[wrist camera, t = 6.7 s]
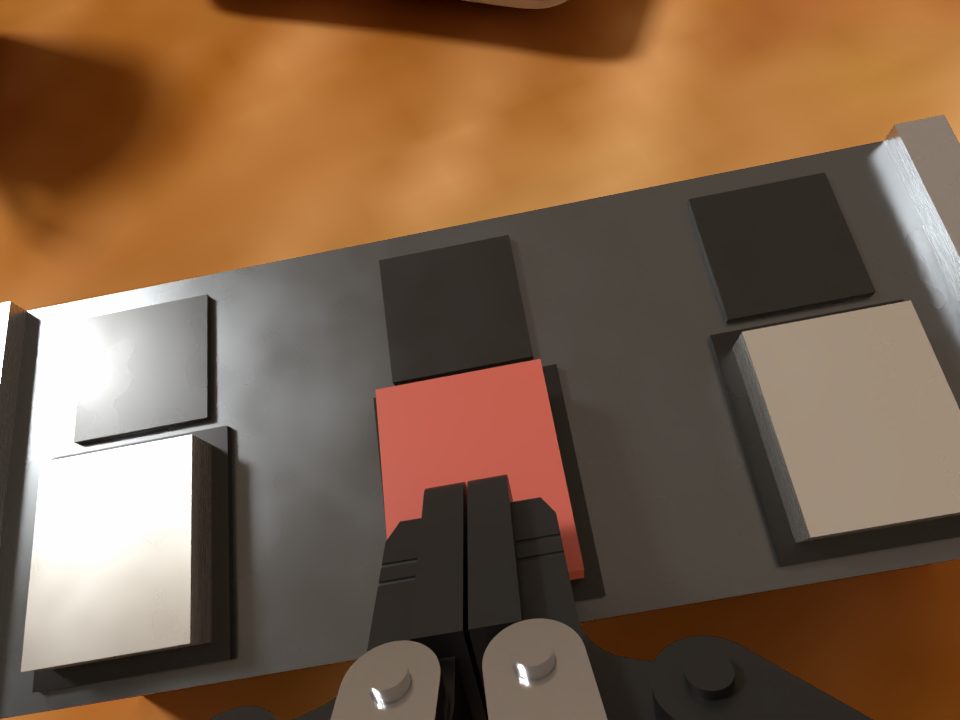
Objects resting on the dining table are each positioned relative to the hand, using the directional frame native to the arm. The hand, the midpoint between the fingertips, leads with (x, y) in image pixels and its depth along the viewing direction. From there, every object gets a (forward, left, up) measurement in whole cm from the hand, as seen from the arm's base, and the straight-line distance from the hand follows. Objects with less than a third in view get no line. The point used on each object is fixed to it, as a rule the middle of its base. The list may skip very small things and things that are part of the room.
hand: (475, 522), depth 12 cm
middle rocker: (-1, +1, -1) cm, 2 cm away
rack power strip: (-3, +2, -11) cm, 11 cm away
